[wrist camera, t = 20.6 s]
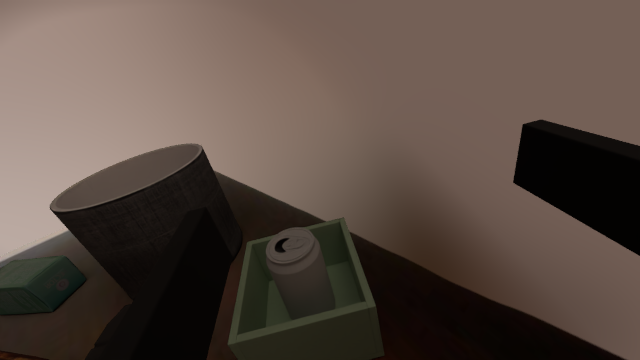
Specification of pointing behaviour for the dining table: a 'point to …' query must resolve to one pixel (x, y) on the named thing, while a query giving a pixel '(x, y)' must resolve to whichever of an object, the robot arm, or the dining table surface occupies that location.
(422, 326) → the dining table surface
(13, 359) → the bread
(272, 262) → the beverage can
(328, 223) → the waste bin
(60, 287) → the box
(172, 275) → the robot arm
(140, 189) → the planter
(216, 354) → the dining table surface
